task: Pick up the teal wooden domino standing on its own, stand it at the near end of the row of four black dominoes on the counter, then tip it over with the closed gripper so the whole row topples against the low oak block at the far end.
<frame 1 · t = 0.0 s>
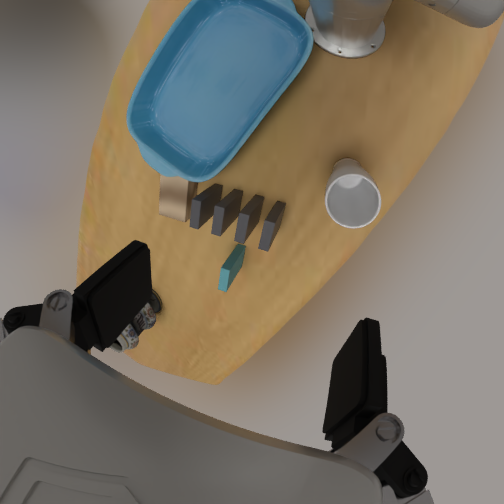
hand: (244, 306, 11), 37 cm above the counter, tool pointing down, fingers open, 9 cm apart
domino 1: (278, 214, 48), on the counter
domino 2: (257, 208, 49), on the counter
domino 3: (236, 202, 50), on the counter
casserole dish: (222, 81, 39), on the counter
domino 4: (217, 196, 50), on the counter
apothecary jar: (148, 297, 72), on the counter
drinking glass: (347, 172, 41), on the counter
domino teal: (240, 255, 55), on the counter
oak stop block: (183, 187, 51), on the counter
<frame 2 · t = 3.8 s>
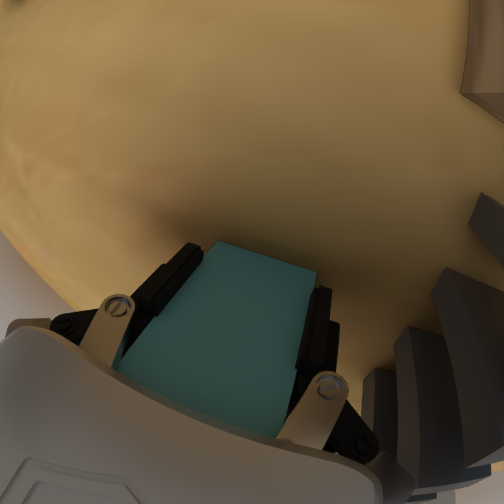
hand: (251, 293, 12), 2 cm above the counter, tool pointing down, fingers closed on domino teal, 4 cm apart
domino 1: (399, 380, 15), on the counter
domino 2: (432, 344, 13), on the counter
domino 3: (471, 293, 10), on the counter
domino teal: (262, 269, 13), on the counter, touching gripper
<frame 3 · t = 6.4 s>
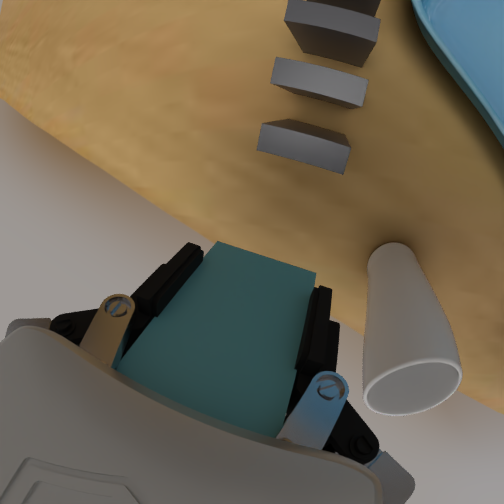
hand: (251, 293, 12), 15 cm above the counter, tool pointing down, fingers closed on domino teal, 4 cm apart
domino 1: (314, 134, 21), on the counter
domino 2: (325, 92, 19), on the counter
domino 3: (334, 51, 17), on the counter
domino 4: (341, 14, 15), on the counter
drinking glass: (391, 262, 25), on the counter
domino teal: (262, 270, 13), point 13 cm above the counter, touching gripper
when the fingers open (3 cm above the counter, at t = 9.0 s): domino teal stays where it is, on the counter.
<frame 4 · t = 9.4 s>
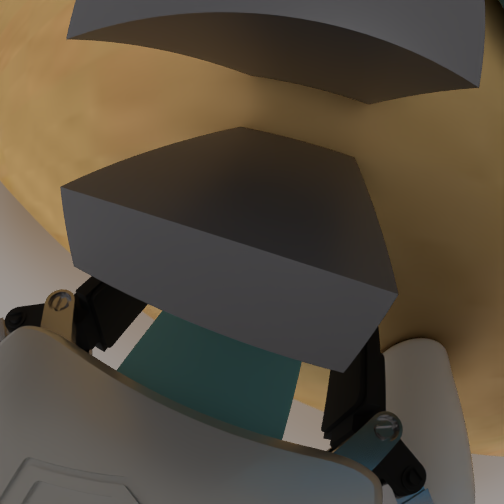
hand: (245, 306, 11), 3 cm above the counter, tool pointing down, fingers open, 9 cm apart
domino 1: (292, 157, 11), on the counter
domino 2: (312, 69, 9), on the counter
drinking glass: (409, 358, 15), on the counter
domino teal: (267, 263, 14), on the counter
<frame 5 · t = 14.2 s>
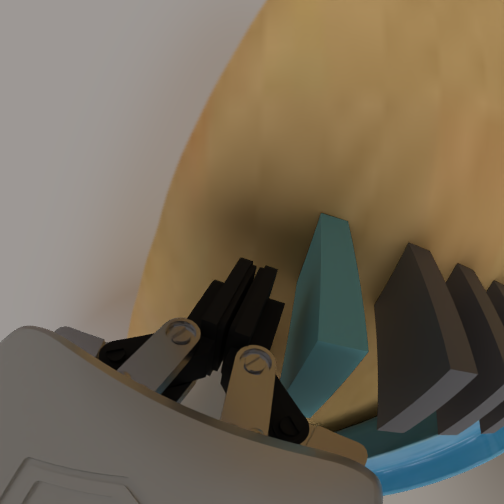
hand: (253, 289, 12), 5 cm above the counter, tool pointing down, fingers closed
domino 1: (401, 279, 15), on the counter
domino 2: (447, 296, 14), on the counter
domino 3: (482, 309, 14), on the counter
casserole dish: (398, 434, 25), on the counter
drinking glass: (233, 341, 23), on the counter
domino teal: (321, 254, 16), on the counter
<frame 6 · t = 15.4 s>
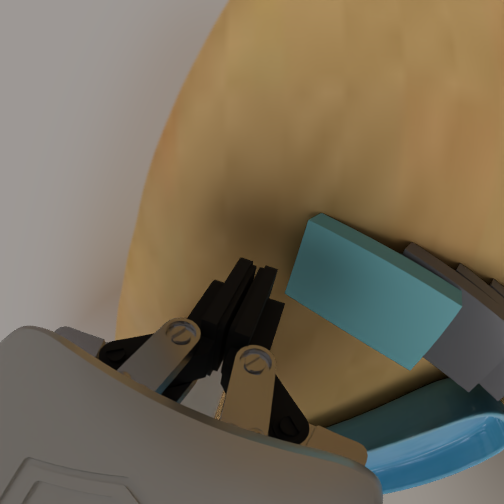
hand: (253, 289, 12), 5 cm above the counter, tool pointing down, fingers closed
domino 1: (390, 280, 15), point 1 cm above the counter, tilted 59°, touching domino 2, domino teal
domino 2: (439, 297, 14), point 1 cm above the counter, tilted 54°, touching domino 1, domino 3
casserole dish: (388, 433, 25), on the counter
drinking glass: (212, 334, 23), on the counter
domino teal: (302, 254, 15), point 1 cm above the counter, tilted 68°, touching domino 1
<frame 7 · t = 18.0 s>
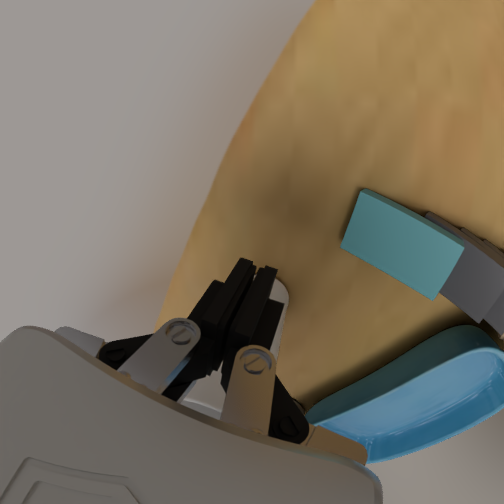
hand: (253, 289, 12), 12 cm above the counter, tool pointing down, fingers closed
domino 1: (416, 238, 20), point 1 cm above the counter, tilted 57°, touching domino 2, domino teal
domino 2: (449, 252, 19), point 1 cm above the counter, tilted 52°, touching domino 1, domino 3
casserole dish: (406, 389, 31), on the counter
drinking glass: (265, 291, 28), on the counter
domino teal: (353, 217, 20), point 1 cm above the counter, tilted 68°, touching domino 1
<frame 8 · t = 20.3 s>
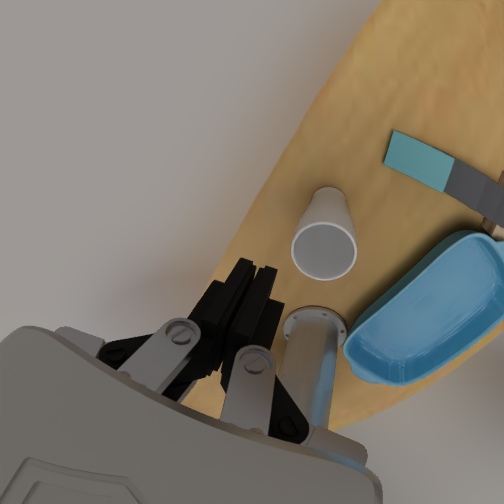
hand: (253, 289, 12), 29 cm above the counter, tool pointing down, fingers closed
domino 1: (428, 163, 30), point 1 cm above the counter, tilted 55°, touching domino 2, domino teal
domino 2: (449, 173, 29), point 1 cm above the counter, tilted 49°, touching domino 1, domino 3
domino 3: (462, 180, 29), point 1 cm above the counter, tilted 48°, touching domino 2, domino 4
casserole dish: (429, 301, 41), on the counter
drinking glass: (329, 202, 38), on the counter
domino teal: (389, 147, 31), point 1 cm above the counter, tilted 68°, touching domino 1
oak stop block: (503, 205, 28), on the counter
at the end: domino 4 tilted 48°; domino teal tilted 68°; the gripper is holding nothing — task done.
